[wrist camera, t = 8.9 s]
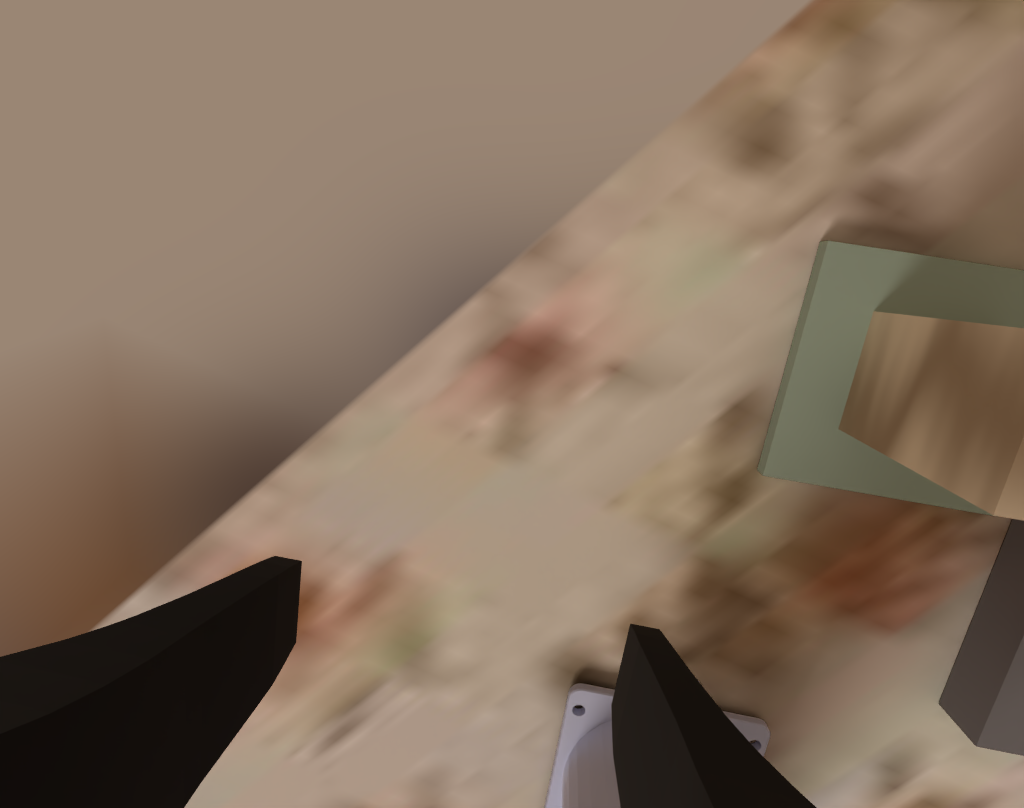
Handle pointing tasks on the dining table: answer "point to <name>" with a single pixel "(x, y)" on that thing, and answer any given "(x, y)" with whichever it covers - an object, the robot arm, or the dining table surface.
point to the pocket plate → (994, 658)
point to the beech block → (945, 405)
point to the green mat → (837, 348)
